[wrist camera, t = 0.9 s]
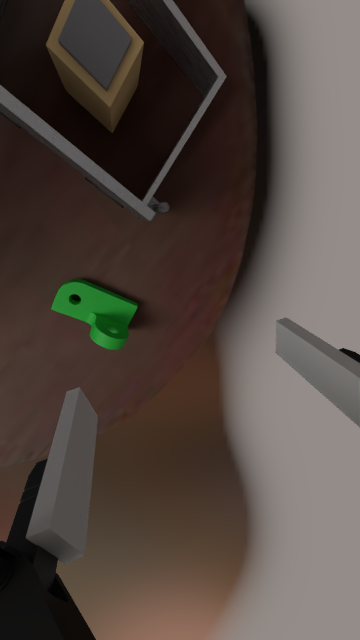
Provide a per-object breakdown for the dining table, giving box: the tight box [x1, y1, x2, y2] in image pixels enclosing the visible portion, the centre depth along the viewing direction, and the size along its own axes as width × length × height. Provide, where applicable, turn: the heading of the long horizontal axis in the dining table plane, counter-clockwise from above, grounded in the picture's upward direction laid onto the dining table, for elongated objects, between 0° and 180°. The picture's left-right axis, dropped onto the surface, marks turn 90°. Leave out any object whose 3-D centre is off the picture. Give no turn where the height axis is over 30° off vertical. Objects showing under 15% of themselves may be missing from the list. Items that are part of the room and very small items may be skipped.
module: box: [46, 0, 144, 133], centre depth 22 cm, size 6×6×9 cm
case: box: [0, 0, 227, 221], centre depth 19 cm, size 23×18×17 cm
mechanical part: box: [51, 279, 138, 350], centre depth 34 cm, size 12×6×8 cm, turn 59°
